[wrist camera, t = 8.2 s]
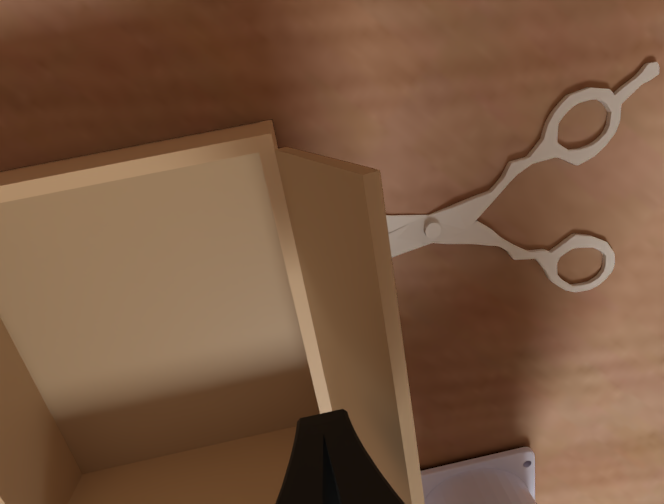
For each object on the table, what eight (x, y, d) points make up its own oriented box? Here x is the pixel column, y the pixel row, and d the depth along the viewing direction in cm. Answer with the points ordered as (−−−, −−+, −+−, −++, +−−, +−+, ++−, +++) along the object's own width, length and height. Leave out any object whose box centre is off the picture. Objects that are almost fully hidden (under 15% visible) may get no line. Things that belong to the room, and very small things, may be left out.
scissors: (640, 278, 23) (263, 364, 22) (630, 272, 24) (263, 356, 23) (660, 60, 19) (202, 153, 18) (646, 61, 20) (205, 150, 19)
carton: (336, 417, 25) (351, 496, 20) (80, 475, 24) (34, 570, 19) (272, 119, 19) (270, 133, 14) (-73, 185, 18) (-193, 223, 13)
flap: (349, 489, 20) (357, 485, 20) (430, 627, 15) (440, 620, 15) (274, 149, 14) (286, 146, 14) (362, 174, 9) (380, 170, 9)
